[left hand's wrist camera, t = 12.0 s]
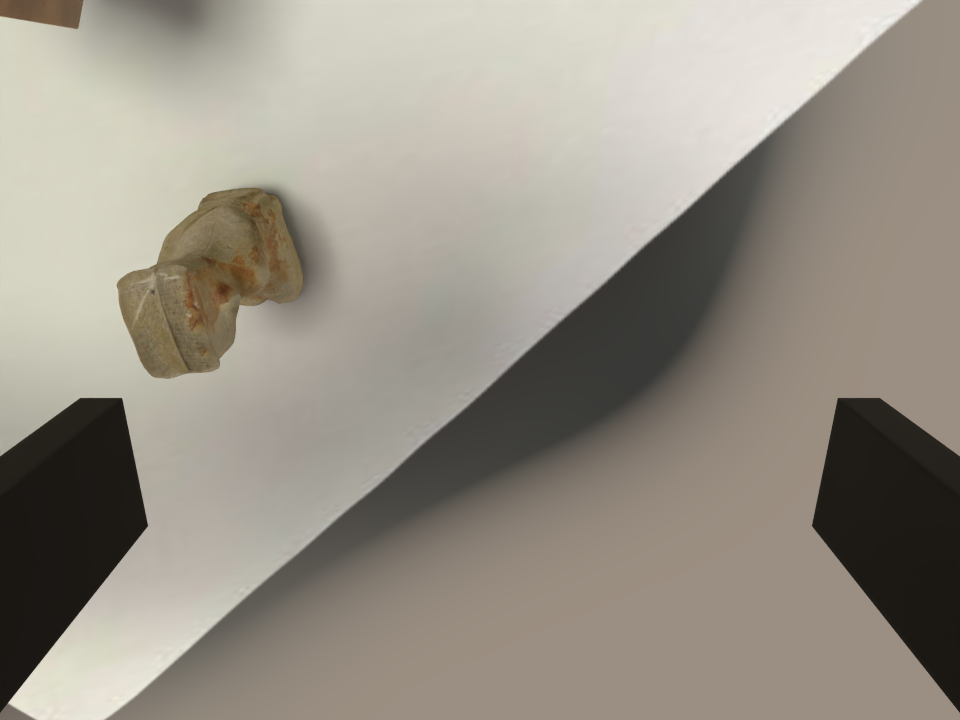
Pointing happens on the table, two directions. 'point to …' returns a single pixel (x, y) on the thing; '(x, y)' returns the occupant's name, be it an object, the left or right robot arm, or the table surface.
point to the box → (44, 11)
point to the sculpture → (209, 281)
